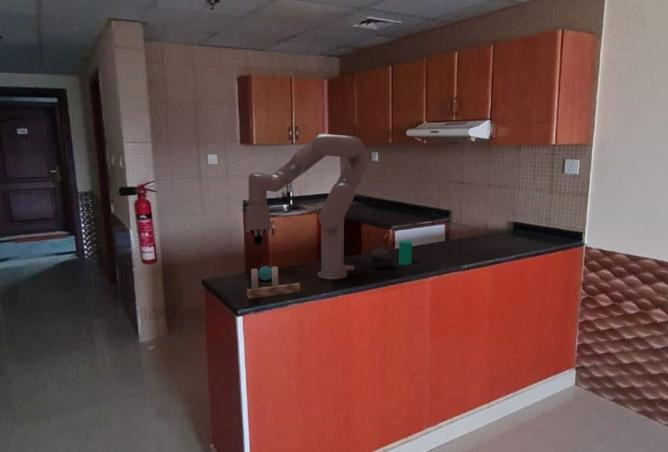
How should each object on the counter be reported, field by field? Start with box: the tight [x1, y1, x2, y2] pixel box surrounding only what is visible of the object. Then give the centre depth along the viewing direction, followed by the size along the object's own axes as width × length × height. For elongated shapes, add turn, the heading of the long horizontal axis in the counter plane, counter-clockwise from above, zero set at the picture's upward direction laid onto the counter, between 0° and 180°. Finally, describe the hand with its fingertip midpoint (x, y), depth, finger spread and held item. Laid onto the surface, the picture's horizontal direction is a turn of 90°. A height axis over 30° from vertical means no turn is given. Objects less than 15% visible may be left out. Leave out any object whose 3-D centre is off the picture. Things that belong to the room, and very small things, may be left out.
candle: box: [398, 238, 413, 266], centre depth 220 cm, size 6×6×12 cm
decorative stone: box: [371, 245, 394, 269], centre depth 212 cm, size 10×10×10 cm
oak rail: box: [246, 282, 301, 299], centre depth 175 cm, size 20×2×3 cm, turn 113°
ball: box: [258, 265, 272, 281], centre depth 193 cm, size 6×6×6 cm
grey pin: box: [250, 268, 259, 289], centre depth 177 cm, size 2×2×9 cm
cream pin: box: [271, 266, 279, 286], centre depth 180 cm, size 2×2×9 cm
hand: (258, 244), depth 200 cm, fingers closed
